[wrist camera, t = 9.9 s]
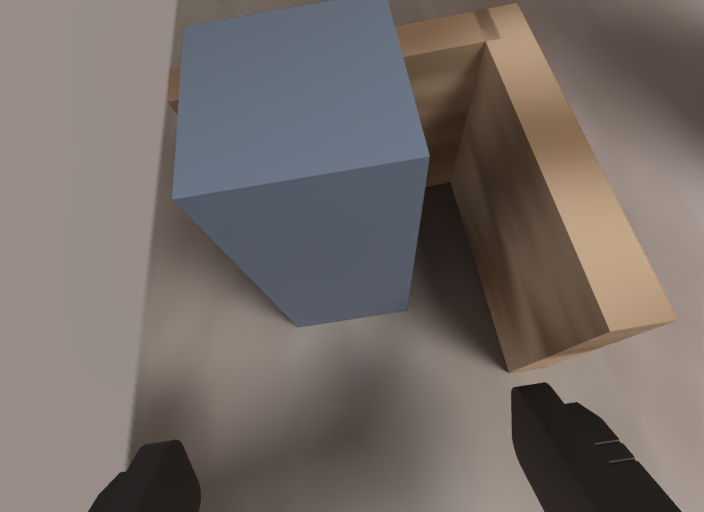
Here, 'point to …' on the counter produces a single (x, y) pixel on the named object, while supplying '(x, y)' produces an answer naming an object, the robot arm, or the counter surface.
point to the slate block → (305, 155)
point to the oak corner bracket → (524, 190)
